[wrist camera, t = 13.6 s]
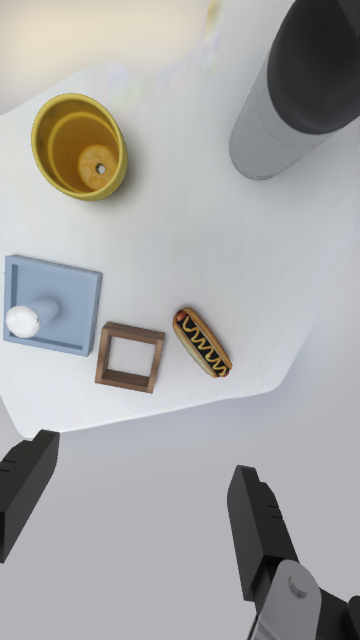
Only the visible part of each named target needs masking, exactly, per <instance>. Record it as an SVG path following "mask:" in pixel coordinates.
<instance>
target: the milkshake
mask: <svg viewBox="0 0 360 640" xmlns="http://www.w3.org/2000/svg"><path fill="white" fill-rule="evenodd" d="M59 313H60V305H59V304H58V303H57V301H56V300H53V299H51V298H49V299H45V300H41V301H37V302H34V303H29V304H24V305H20V306H15V307H13V308H11V309H10V310H9V311H8V312H7V315H6V324H7V327H8V329H9V330H10V331H11V332H12V333H13V334H14V335H16V336H18V337H20V338H29V337H32V336H34V335H35V334H36V333H38V332H39V331H40V330H41V329H42V328H43V327H44V326H45V325H47V324H48V323H49V322H50V321H51V320H53V319H54V318H55V317H56V316H57V315H58V314H59Z"/></svg>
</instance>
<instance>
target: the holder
mask: <svg viewBox="0 0 360 640" xmlns="http://www.w3.org/2000/svg"><path fill="white" fill-rule="evenodd" d="M164 335H165V333H161V332H156V331H151V330H146V329H141V328H136V327H131V326H126V325H121V324H116V323H112V322H107V323H106V324H105V325H104V327H103V328H102V332H101V339H100V347H99V354H98V361H97V369H96V376H95V383H98V384H104V385H109V386H114V387H120V388H125V389H130V390H135V391H141V392H146V393H151V394H152V393H153V389H154V384H155V379H156V374H157V370H158V365H159V360H160V355H161V350H162V346H163V341H164ZM112 336H114V337H119V338H124V339H129V340H134V341H139V342H144V343H149V344H154V345H156V349H155V354H154V359H153V364H152V369H151V374H150V377H145V376H140V375H134V374H129V373H124V372H119V371H114V370H108V369H107V364H108V357H109V350H110V344H111V337H112Z"/></svg>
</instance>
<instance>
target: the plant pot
mask: <svg viewBox="0 0 360 640" xmlns="http://www.w3.org/2000/svg"><path fill="white" fill-rule="evenodd" d="M31 145H32V151H33V155H34V159H35V161H36V164H37V166H38V168H39V170H40V171H41V173H42V174H43V176H44V177H45V178H46V180H47V181H48V182H49V183H50V184H51V185H52V186H54V187H55V188H56V189H57V190H59V191H61V192H62V193H64V194H66V195H68V196H70V197H73V198H76V199H79V200H84V201H97V200H101V199H104V198H106V197H108V196H109V195H111V194H112V193H113V192H114V191H116V189H117V188H118V187H119V186H120V184H121V183H122V181H123V178H124V176H125V173H126V169H127V149H126V145H125V141H124V139H123V136H122V133H121V131H120V129H119V127H118V125H117V123H116V121H115V120H114V118H113V117H112V115H111V114H110V113H109V112H108V111H107V109H106V108H105V107H103V106H102V105H101V104H100V103H99V102H97V101H96V100H94V99H92V98H90V97H88V96H85V95H82V94H76V93H68V94H62V95H59V96H56V97H54V98H52V99H51V100H49V101H48V102H47V103H45V104H44V106H43V107H42V108H41V109H40V110H39V112H38V114H37V116H36V118H35V120H34V123H33V127H32V134H31ZM98 165H103V166H104V167H105V172H104V173H103V174H99V173H98V171H97V167H98Z"/></svg>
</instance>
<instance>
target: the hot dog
mask: <svg viewBox="0 0 360 640" xmlns="http://www.w3.org/2000/svg"><path fill="white" fill-rule="evenodd" d="M173 328H174V331H175V333H176V335H177V336H178V338H179V340H180V341H181V343H182V344H183V346H184V347H185V348H186V350H187V351H188V352H189V354H190V355H191V356H192V357H193V359H194V360H195V361H196V362H197V363H198V364H199V365H200V366H201V367H202V369H203V370H204V371H205V372H206V373H207V374H209V375H211V376H212V377H214V378H217V377H220V376H221V377H226V376H227V375H228V374H229V370H231V368H232V363H231V361H230V359H229V357H228V355H227V354H226V352H225V351H224V349H223V348H222V346H221V345H220V343H219V342H218V340H217V339H216V338H215V336H214V335H213V333H212V332H211V331H210V329H209V328H208V327H207V326H206V324H205V323H204V322H203V321H202V320H201V318H200V317H199V316H198V315H197V314H196V313H195V312H194V311H193V310H192V309H191V308H186V309H183V310H179V311H178V313H177V314H176V315H175V316H174V318H173Z"/></svg>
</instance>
